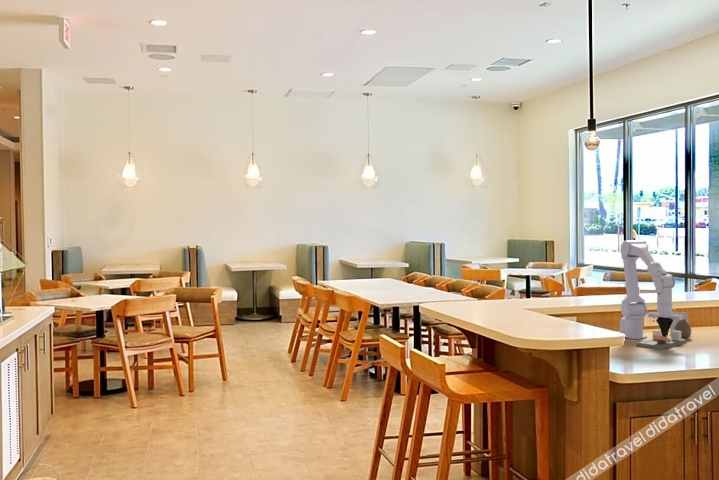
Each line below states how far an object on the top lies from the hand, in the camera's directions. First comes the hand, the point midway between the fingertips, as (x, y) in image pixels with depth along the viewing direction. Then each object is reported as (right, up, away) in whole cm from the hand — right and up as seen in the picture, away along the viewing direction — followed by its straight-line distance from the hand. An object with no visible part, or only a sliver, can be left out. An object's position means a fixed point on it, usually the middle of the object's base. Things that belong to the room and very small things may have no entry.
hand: (664, 335), depth 296 cm
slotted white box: (+7, -2, +4) cm, 8 cm away
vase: (+15, -4, +16) cm, 22 cm away
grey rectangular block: (+19, -3, +28) cm, 33 cm away
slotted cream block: (0, -3, +8) cm, 8 cm away
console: (0, -4, +4) cm, 6 cm away
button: (+4, -2, +11) cm, 12 cm away
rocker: (-2, -2, -2) cm, 3 cm away
